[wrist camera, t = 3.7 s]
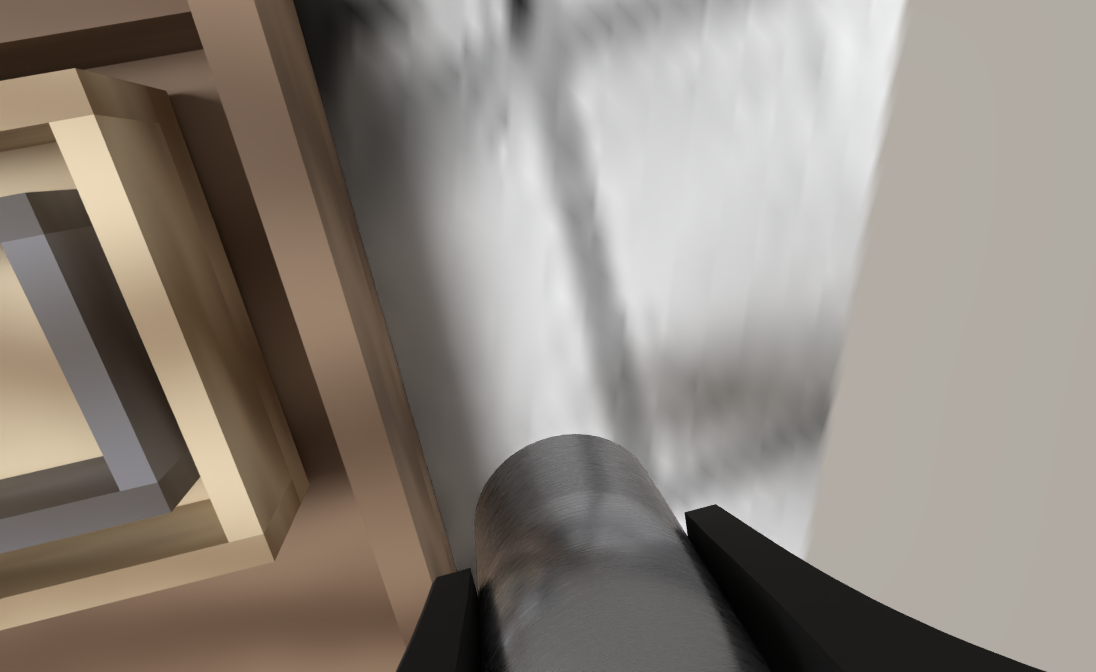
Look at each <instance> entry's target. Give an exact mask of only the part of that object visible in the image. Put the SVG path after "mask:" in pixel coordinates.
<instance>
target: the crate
mask: <svg viewBox="0 0 1096 672" xmlns="http://www.w3.org/2000/svg"><path fill="white" fill-rule="evenodd" d="M308 487H309V482H308V479H307V476H306V474H305V471H304V468H303V465H302V463H301V460H300V457H299V454H298V452H297V449H296V446H295V443H294V441H293V438H292V435H291V432H290V430H289V427H288V424H287V421H286V419H285V416H284V413H283V410H282V408H281V405H280V402H279V399H278V397H277V394H276V391H275V388H274V386H273V383H272V380H271V377H270V375H269V372H268V369H267V366H266V363H265V361H264V358H263V355H262V352H261V350H260V347H259V344H258V341H257V339H256V336H255V333H254V330H253V328H252V325H251V322H250V319H249V317H248V314H247V311H246V308H245V306H244V303H243V300H242V297H241V295H240V292H239V289H238V286H237V284H236V281H235V278H234V275H233V273H232V270H231V267H230V264H229V262H228V259H227V256H226V253H225V251H224V248H223V245H222V242H221V240H220V237H219V234H218V231H217V229H216V226H215V223H214V220H213V218H212V215H211V212H210V209H209V207H208V204H207V201H206V198H205V196H204V193H203V190H202V187H201V185H200V182H199V179H198V176H197V174H196V171H195V168H194V165H193V163H192V160H191V157H190V154H189V152H188V149H187V146H186V143H185V141H184V138H183V135H182V132H181V130H180V127H179V124H178V121H177V119H176V116H175V113H174V110H173V108H172V105H171V102H170V99H169V97H168V94H167V91H165V90H161V89H157V88H153V87H149V86H145V85H141V84H137V83H133V82H129V81H125V80H121V79H117V78H113V77H109V76H105V75H101V74H97V73H93V72H89V71H85V70H81V69H77V68H73V69H67V70H61V71H55V72H50V73H44V74H38V75H32V76H26V77H20V78H15V79H9V80H3V81H0V630H4V629H8V628H12V627H16V626H20V625H24V624H28V623H32V622H36V621H40V620H44V619H48V618H52V617H56V616H60V615H64V614H68V613H72V612H76V611H80V610H84V609H88V608H92V607H96V606H100V605H104V604H108V603H112V602H116V601H120V600H124V599H128V598H132V597H136V596H140V595H144V594H147V593H151V592H155V591H159V590H163V589H167V588H171V587H175V586H179V585H183V584H187V583H191V582H195V581H199V580H203V579H207V578H211V577H215V576H219V575H223V574H227V573H231V572H235V571H239V570H243V569H247V568H251V567H255V566H259V565H263V564H267V563H271V562H275V560H276V557H277V555H278V553H279V551H280V549H281V546H282V544H283V542H284V540H285V538H286V535H287V533H288V531H289V529H290V527H291V524H292V522H293V520H294V518H295V516H296V513H297V511H298V509H299V507H300V505H301V502H302V500H303V498H304V496H305V494H306V491H307V489H308Z"/></svg>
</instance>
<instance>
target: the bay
mask: <svg viewBox="0 0 1096 672" xmlns="http://www.w3.org/2000/svg"><path fill="white" fill-rule="evenodd" d="M73 68H77V69H81V70H85V71H89V72H93V73H97V74H101V75H105V76H109V77H113V78H117V79H121V80H125V81H129V82H133V83H137V84H141V85H145V86H149V87H153V88H157V89H161V90H165V91H167V94H168V97H169V99H170V102H171V105H172V108H173V110H174V113H175V116H176V119H177V121H178V124H179V127H180V130H181V132H182V135H183V138H184V141H185V143H186V146H187V149H188V152H189V154H190V157H191V160H192V163H193V165H194V168H195V171H196V174H197V176H198V179H199V182H200V185H201V187H202V190H203V193H204V196H205V198H206V201H207V204H208V207H209V209H210V212H211V215H212V218H213V220H214V223H215V226H216V229H217V231H218V234H219V237H220V240H221V242H222V245H223V248H224V251H225V253H226V256H227V259H228V262H229V264H230V267H231V270H232V273H233V275H234V278H235V281H236V284H237V286H238V289H239V292H240V295H241V297H242V300H243V303H244V306H245V308H246V311H247V314H248V317H249V319H250V322H251V325H252V328H253V330H254V333H255V336H256V339H257V341H258V344H259V347H260V350H261V352H262V355H263V358H264V361H265V363H266V366H267V369H268V372H269V375H270V377H271V380H272V383H273V386H274V388H275V391H276V394H277V397H278V399H279V402H280V405H281V408H282V410H283V413H284V416H285V419H286V421H287V424H288V427H289V430H290V432H291V435H292V438H293V441H294V443H295V446H296V449H297V452H298V454H299V457H300V460H301V463H302V465H303V468H304V471H305V474H306V476H307V479H308V482H309V487H308V489H307V491H306V494H305V496H304V498H303V500H302V502H301V505H300V507H299V509H298V511H297V513H296V516H295V518H294V520H293V522H292V524H291V527H290V529H289V531H288V533H287V535H286V538H285V540H284V542H283V544H282V546H281V549H280V551H279V553H278V555H277V557H276V560H275V562H271V563H267V564H263V565H259V566H255V567H251V568H247V569H243V570H239V571H235V572H231V573H227V574H223V575H219V576H215V577H211V578H207V579H203V580H199V581H195V582H191V583H187V584H183V585H179V586H175V587H171V588H167V589H163V590H159V591H155V592H151V593H147V594H144V595H140V596H136V597H132V598H128V599H124V600H120V601H116V602H112V603H108V604H104V605H100V606H96V607H92V608H88V609H84V610H80V611H76V612H72V613H68V614H64V615H60V616H56V617H52V618H48V619H44V620H40V621H36V622H32V623H28V624H24V625H20V626H16V627H12V628H8V629H4V630H0V672H396V670H397V668H398V666H399V664H400V661H401V659H402V657H403V655H404V653H405V650H406V648H407V646H408V644H409V642H410V639H411V637H412V634H413V632H414V630H415V627H416V625H417V622H418V620H419V618H420V615H421V612H422V610H423V607H424V605H425V602H426V599H427V597H428V594H429V591H430V588H431V586H432V583H433V582H434V580H435V579H436V577H439V576H443V575H446V574H450V573H454V572H457V570H456V567H455V563H454V560H453V557H452V553H451V550H450V546H449V543H448V539H447V536H446V532H445V529H444V525H443V522H442V518H441V515H440V511H439V508H438V504H437V501H436V497H435V494H434V490H433V487H432V483H431V480H430V476H429V473H428V469H427V466H426V462H425V459H424V455H423V452H422V448H421V445H420V442H419V438H418V435H417V431H416V428H415V424H414V421H413V417H412V414H411V410H410V407H409V403H408V400H407V396H406V393H405V389H404V386H403V382H402V379H401V375H400V372H399V368H398V365H397V361H396V358H395V354H394V351H393V347H392V344H391V340H390V337H389V333H388V330H387V326H386V323H385V320H384V316H383V313H382V309H381V306H380V302H379V299H378V295H377V292H376V288H375V285H374V281H373V278H372V274H371V271H370V267H369V264H368V260H367V257H366V253H365V250H364V246H363V243H362V239H361V236H360V232H359V229H358V225H357V222H356V218H355V215H354V211H353V208H352V205H351V201H350V198H349V194H348V191H347V187H346V184H345V180H344V177H343V173H342V170H341V166H340V163H339V159H338V156H337V152H336V149H335V145H334V142H333V138H332V135H331V131H330V128H329V124H328V121H327V117H326V114H325V110H324V107H323V103H322V100H321V96H320V93H319V89H318V86H317V83H316V79H315V76H314V72H313V69H312V65H311V62H310V58H309V55H308V51H307V48H306V44H305V41H304V37H303V34H302V30H301V27H300V23H299V20H298V16H297V13H296V9H295V6H294V2H293V0H0V81H3V80H9V79H15V78H20V77H26V76H32V75H38V74H44V73H50V72H55V71H61V70H67V69H73Z"/></svg>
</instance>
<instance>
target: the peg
mask: <svg viewBox="0 0 1096 672" xmlns="http://www.w3.org/2000/svg"><path fill="white" fill-rule="evenodd" d="M475 544H476V563H477V583H478V601H479V620H480V640H481V660H482V672H771V670H770V668H769V667H768V665H767V664H766V662H765V660H764V659H763V657H762V656H761V654H760V652H759V651H758V649H757V647H756V646H755V644H754V643H753V641H752V639H751V638H750V636H749V635H748V633H747V631H746V630H745V628H744V627H743V625H742V623H741V622H740V620H739V619H738V617H737V615H736V614H735V612H734V610H733V609H732V607H731V606H730V604H729V602H728V601H727V599H726V598H725V596H724V594H723V593H722V591H721V590H720V588H719V586H718V585H717V583H716V582H715V580H714V578H713V577H712V575H711V573H710V572H709V570H708V569H707V567H706V565H705V564H704V562H703V561H702V559H701V557H700V556H699V554H698V553H697V551H696V549H695V548H694V546H693V544H692V543H691V541H690V540H689V538H688V536H687V535H686V533H685V532H684V530H683V528H682V527H681V525H680V524H679V522H678V520H677V519H676V517H675V516H674V514H673V512H672V511H671V509H670V507H669V506H668V504H667V503H666V501H665V499H664V498H663V496H662V495H661V493H660V491H659V490H658V488H657V487H656V485H655V483H654V482H653V480H652V479H651V477H650V475H649V474H648V472H647V470H646V469H645V467H644V466H643V465H642V464H641V462H640V461H639V460H638V459H637V458H636V457H635V456H634V455H633V454H632V453H631V452H629V451H628V450H626V449H625V448H623V447H622V446H620V445H618V444H616V443H614V442H612V441H610V440H607V439H604V438H601V437H596V436H591V435H580V434H571V435H560V436H555V437H550V438H547V439H543V440H540V441H537V442H535V443H533V444H530V445H528V446H526V447H524V448H523V449H521V450H519V451H518V452H516V453H515V454H513V455H512V456H511V457H509V458H508V459H507V460H506V461H505V462H504V463H502V464H501V465H500V466H499V467H498V468H497V470H496V471H495V472H494V473H493V475H492V476H491V477H490V478H489V480H488V482H487V483H486V485H485V487H484V488H483V491H482V493H481V495H480V497H479V500H478V504H477V508H476V513H475Z"/></svg>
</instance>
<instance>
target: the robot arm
mask: <svg viewBox="0 0 1096 672" xmlns="http://www.w3.org/2000/svg"><path fill="white" fill-rule="evenodd" d="M685 519H686V526H687V534H688V538H689V540H690V541H691V543H692V544H693V546H694V548H695V549H696V551H697V553H698V554H699V556H700V557H701V559H702V561H703V562H704V564H705V565H706V567H707V569H708V570H709V572H710V573H711V575H712V577H713V578H714V580H715V582H716V583H717V585H718V586H719V588H720V590H721V591H722V593H723V594H724V596H725V598H726V599H727V601H728V602H729V604H730V606H731V607H732V609H733V610H734V612H735V614H736V615H737V617H738V619H739V620H740V622H741V623H742V625H743V627H744V628H745V630H746V631H747V633H748V635H749V636H750V638H751V639H752V641H753V643H754V644H755V646H756V647H757V649H758V651H759V652H760V654H761V656H762V657H763V659H764V660H765V662H766V664H767V665H768V667H769V668H770V670H771V672H1046V671H1043V670H1040V669H1037V668H1034V667H1031V666H1028V665H1025V664H1023V663H1020V662H1018V661H1015V660H1012V659H1010V658H1007V657H1005V656H1002V655H999V654H997V653H994V652H992V651H989V650H986V649H984V648H981V647H979V646H976V645H973V644H971V643H968V642H966V641H964V640H961V639H959V638H956V637H954V636H951V635H949V634H947V633H944V632H942V631H940V630H937V629H935V628H933V627H931V626H929V625H927V624H924V623H922V622H920V621H918V620H916V619H913V618H911V617H909V616H906V615H905V614H903V613H900V612H898V611H896V610H894V609H892V608H890V607H888V606H885V605H884V604H882V603H880V602H877V601H876V600H873V599H872V598H870V597H868V596H866V595H864V594H862V593H860V592H859V591H857V590H855V589H853V588H851V587H849V586H847V585H845V584H844V583H842V582H840V581H838V580H836V579H834V578H833V577H831V576H829V575H827V574H825V573H824V572H822V571H820V570H819V569H817V568H815V567H813V566H812V565H810V564H808V563H807V562H805V561H803V560H802V559H800V558H799V557H797V556H795V555H794V554H792V553H790V552H789V551H787V550H785V549H784V548H782V547H781V546H779V545H777V544H776V543H774V542H773V541H771V540H770V539H768V538H767V537H765V536H764V535H762V534H760V533H759V532H757V531H756V530H754V529H753V528H751V527H750V526H748V525H747V524H745V523H744V522H742V521H741V520H739V519H738V518H736V517H734V516H733V515H731V514H730V513H728V512H727V511H725V510H724V509H722V508H721V507H719V506H718V505H716V504H715V505H711V506H707V507H704V508H700V509H696V510H692V511H688V512H685ZM396 672H482V660H481V640H480V620H479V601H478V595H477V591H476V588H475V584H474V580H473V577H472V573H471V570H470V568H469V569H466V570H462V571H458V572H454V573H450V574H446V575H443V576H439V577H436V579H435V580H434V582H433V583H432V586H431V588H430V591H429V594H428V597H427V599H426V602H425V605H424V607H423V610H422V612H421V615H420V618H419V620H418V622H417V625H416V627H415V630H414V632H413V634H412V637H411V639H410V642H409V644H408V646H407V648H406V650H405V653H404V655H403V657H402V659H401V661H400V664H399V666H398V668H397V670H396Z"/></svg>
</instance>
